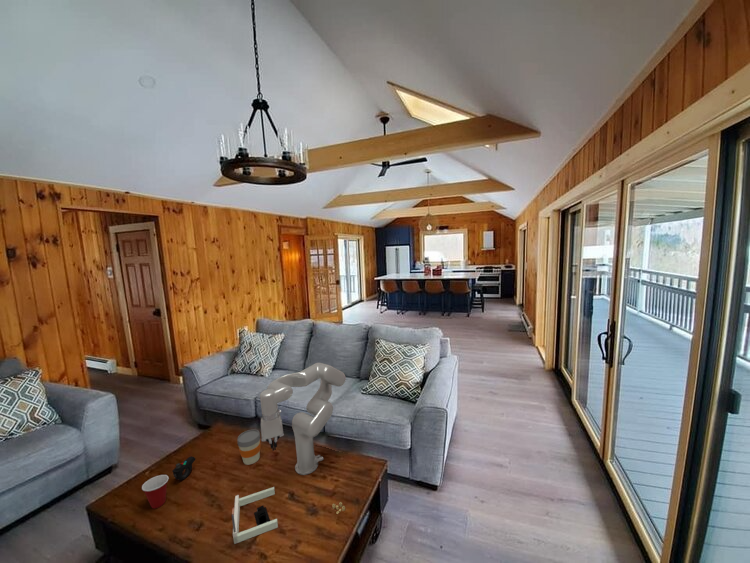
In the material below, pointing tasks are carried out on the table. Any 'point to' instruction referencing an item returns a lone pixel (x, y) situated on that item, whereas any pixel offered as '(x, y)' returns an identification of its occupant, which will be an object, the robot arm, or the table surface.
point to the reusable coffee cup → (249, 446)
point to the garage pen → (255, 530)
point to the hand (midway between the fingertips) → (274, 448)
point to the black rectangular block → (261, 515)
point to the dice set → (338, 508)
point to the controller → (183, 468)
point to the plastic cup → (156, 490)
